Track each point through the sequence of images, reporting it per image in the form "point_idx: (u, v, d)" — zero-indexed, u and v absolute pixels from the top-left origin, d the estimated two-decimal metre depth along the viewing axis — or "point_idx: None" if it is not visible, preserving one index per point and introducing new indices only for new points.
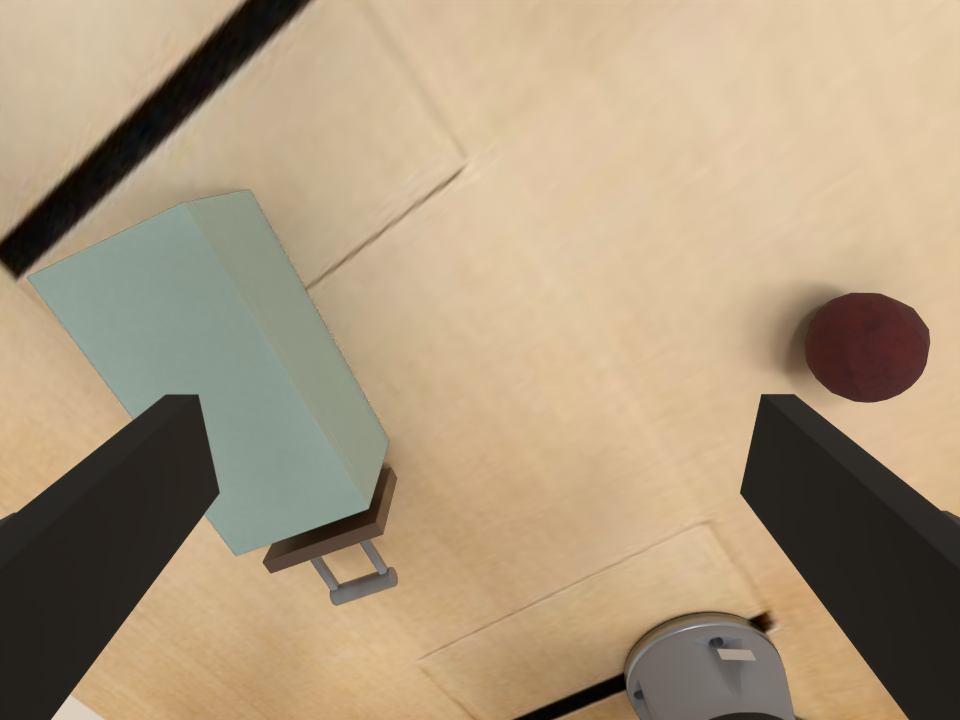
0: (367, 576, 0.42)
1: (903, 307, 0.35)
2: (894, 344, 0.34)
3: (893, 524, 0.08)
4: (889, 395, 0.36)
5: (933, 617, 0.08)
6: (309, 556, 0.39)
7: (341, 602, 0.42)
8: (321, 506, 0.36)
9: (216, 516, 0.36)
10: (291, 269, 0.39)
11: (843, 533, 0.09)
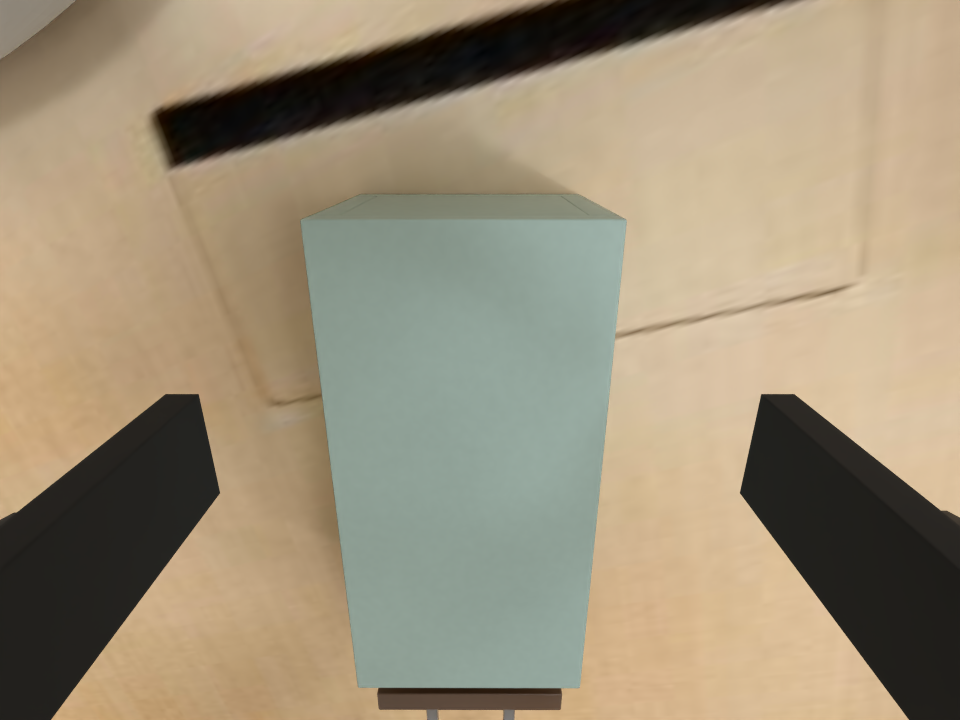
0: None
1: None
2: None
3: (893, 524, 0.08)
4: None
5: (933, 617, 0.08)
6: (446, 706, 0.27)
7: None
8: (521, 667, 0.25)
9: (367, 634, 0.24)
10: None
11: (843, 533, 0.09)
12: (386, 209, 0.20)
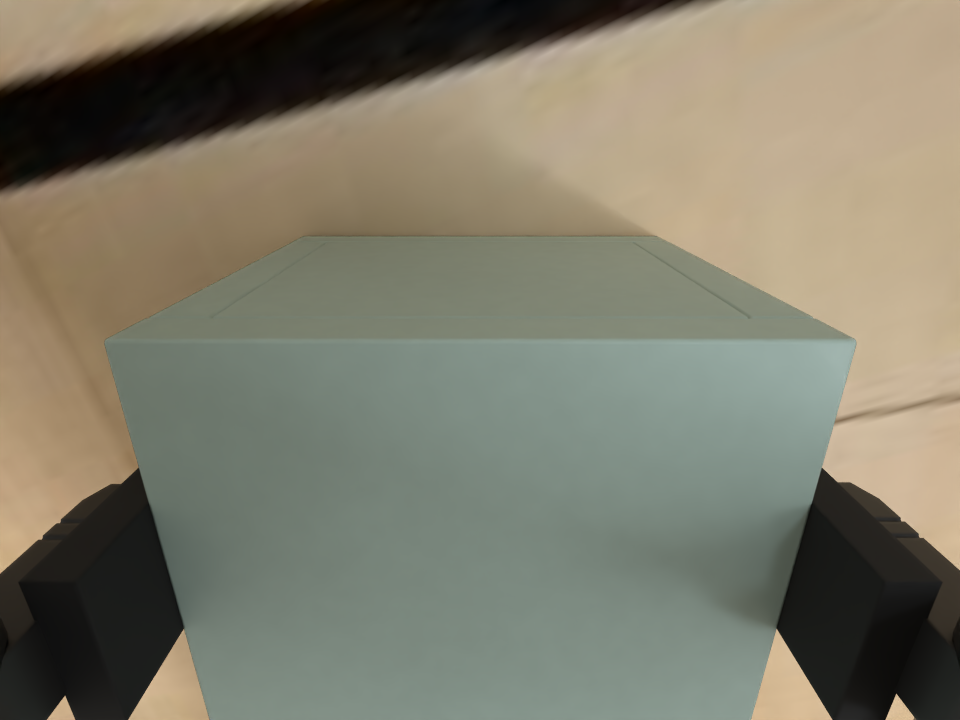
0: None
1: None
2: None
3: None
4: None
5: (817, 573, 0.08)
6: None
7: None
8: None
9: None
10: None
11: None
12: (323, 290, 0.10)
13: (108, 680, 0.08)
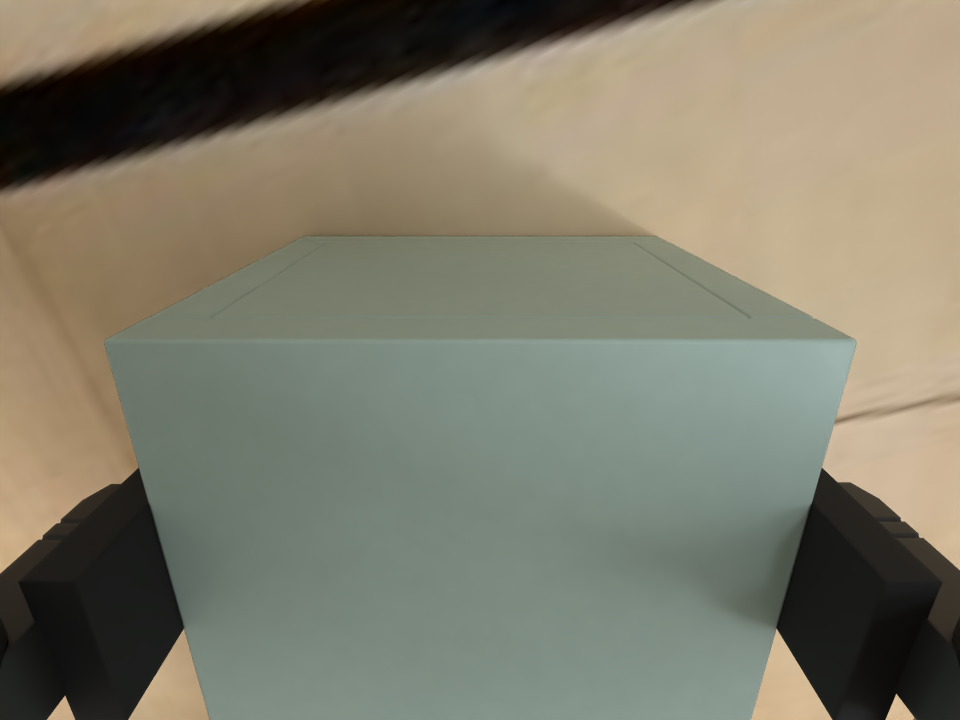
0: None
1: None
2: None
3: None
4: None
5: (817, 573, 0.08)
6: None
7: None
8: None
9: None
10: None
11: None
12: (323, 290, 0.10)
13: (108, 680, 0.08)
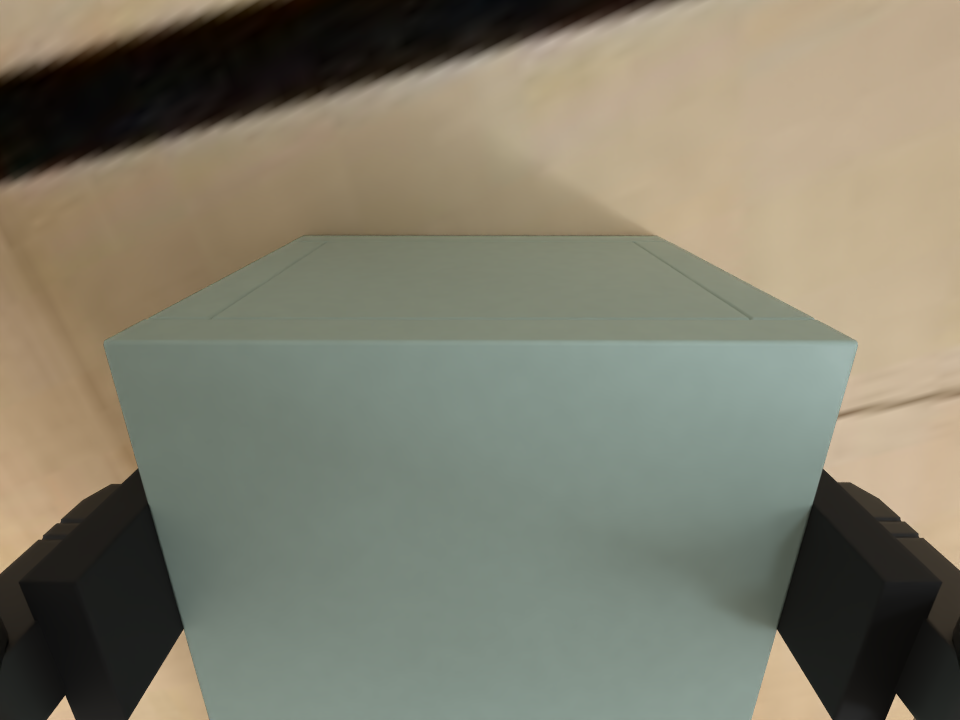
0: None
1: None
2: None
3: None
4: None
5: (817, 573, 0.08)
6: None
7: None
8: None
9: None
10: None
11: None
12: (323, 290, 0.10)
13: (108, 680, 0.08)
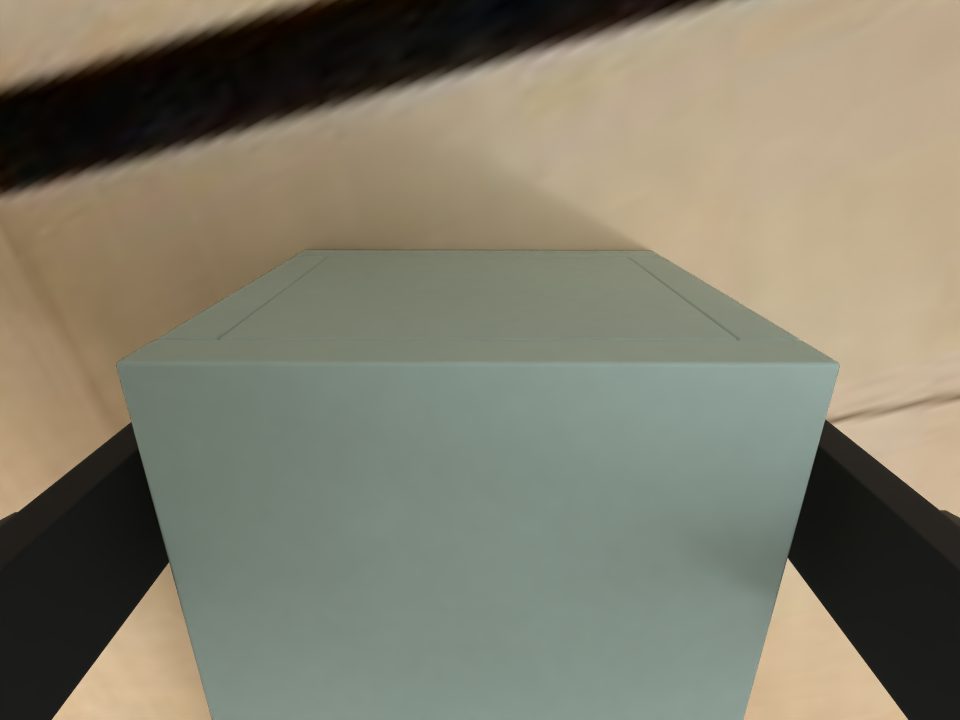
0: None
1: None
2: None
3: (892, 524, 0.08)
4: None
5: (931, 616, 0.08)
6: None
7: None
8: None
9: None
10: None
11: (842, 533, 0.10)
12: (326, 309, 0.10)
13: None
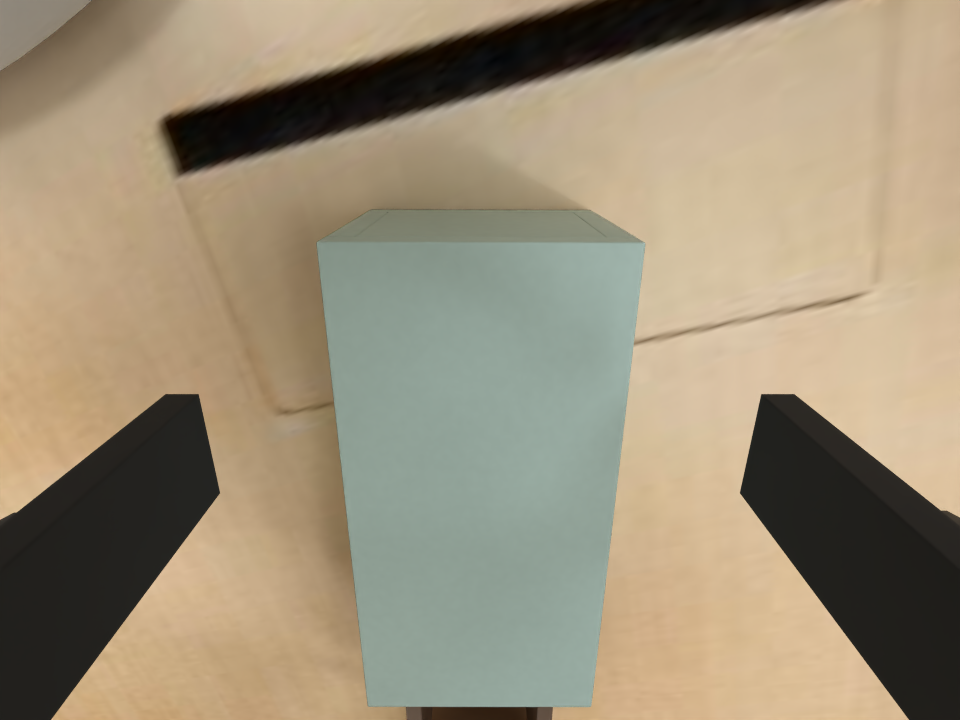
0: None
1: None
2: None
3: (893, 524, 0.08)
4: None
5: (933, 617, 0.08)
6: None
7: None
8: (532, 686, 0.25)
9: (377, 653, 0.24)
10: None
11: (843, 533, 0.09)
12: (401, 229, 0.20)
13: None
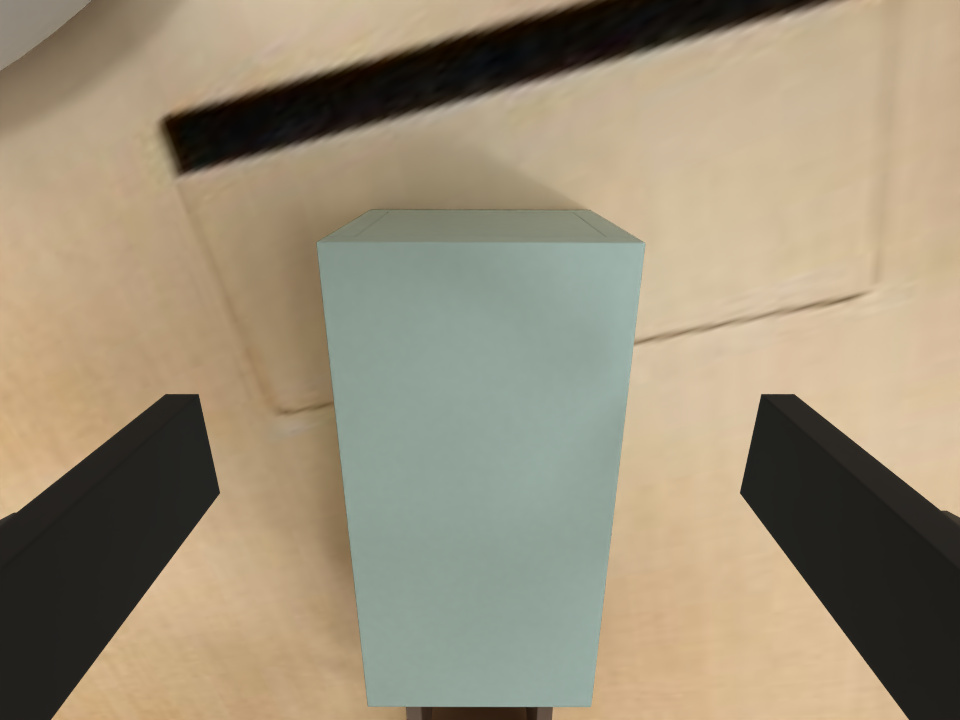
0: None
1: None
2: None
3: (893, 524, 0.08)
4: None
5: (933, 617, 0.08)
6: None
7: None
8: (532, 686, 0.25)
9: (377, 653, 0.24)
10: None
11: (843, 533, 0.09)
12: (401, 229, 0.20)
13: None
